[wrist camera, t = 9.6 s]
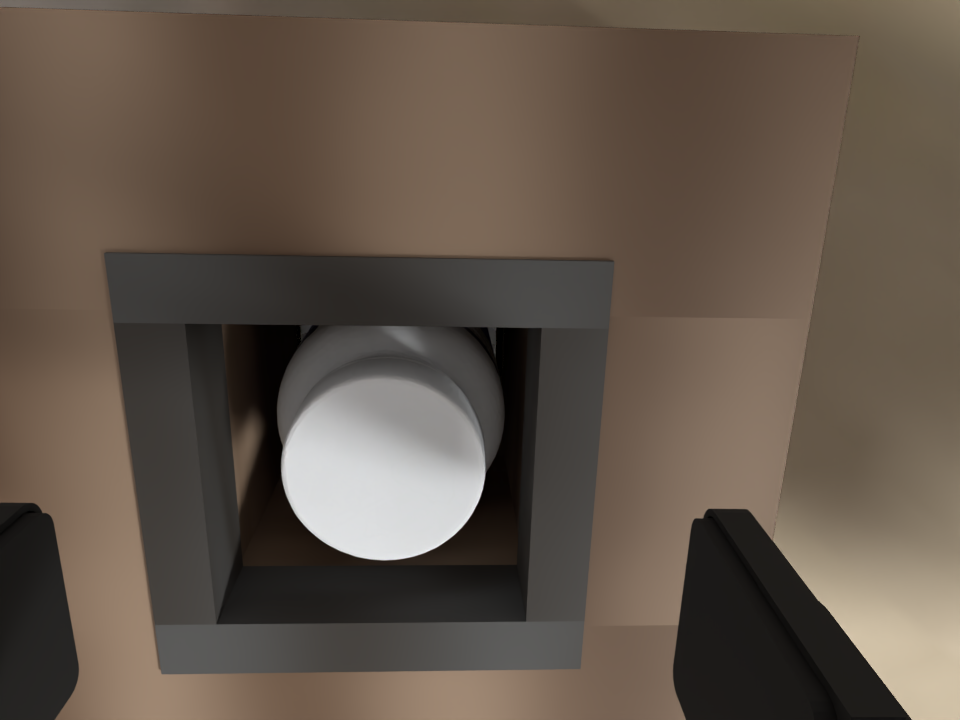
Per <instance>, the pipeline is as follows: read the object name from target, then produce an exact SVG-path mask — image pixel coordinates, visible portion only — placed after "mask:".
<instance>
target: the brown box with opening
mask: <svg viewBox="0 0 960 720" xmlns="http://www.w3.org/2000/svg"><path fill="white" fill-rule="evenodd" d="M859 37H860V36H845V35H815V34H786V33H756V32H726V31H697V30H667V29H637V28H608V27H578V26H548V25H519V24H489V23H459V22H430V21H400V20H370V19H341V18H311V17H282V16H252V15H222V14H193V13H163V12H133V11H104V10H74V9H44V8H15V7H0V503H35V504H37V505H38V506H39V507H40V509H41V510H42V513H47V514H49V515H50V516H51V517H52V519H53V522H54V527H55V533H56V538H57V544H58V550H59V555H60V561H61V567H62V572H63V578H64V584H65V589H66V595H67V601H68V606H69V612H70V618H71V623H72V629H73V635H74V640H75V646H76V652H77V657H78V663H79V676H78V681H77V684H76V687H75V690H74V692H73V693H72V695H71V697H70V698H69V700H68V701H67V703H66V704H65V705H64V707H63V708H62V710H61V711H60V713H59V714H58V716H57V717H56V719H55V720H686V718H685V716H684V713H683V711H682V708H681V705H680V703H679V700H678V698H677V695H676V692H675V687H674V681H673V663H674V655H675V647H676V640H677V632H678V624H679V616H680V609H681V601H682V593H683V586H684V578H685V570H686V563H687V555H688V547H689V540H690V532H691V526H692V522H693V520H694V519H695V518H703V517H704V514H705V512H706V511H707V510H708V509H748V510H749V511H750V512H751V513H752V515H753V516H754V517H755V518H756V520H757V521H758V522H759V524H760V525H761V526H762V528H763V529H764V530H765V532H766V533H767V534H768V536H769V537H770V538H771V540H772V541H773V536H774V530H775V524H776V518H777V512H778V507H779V501H780V495H781V489H782V483H783V478H784V472H785V466H786V460H787V454H788V449H789V443H790V437H791V431H792V425H793V420H794V414H795V408H796V402H797V396H798V391H799V385H800V379H801V373H802V367H803V362H804V356H805V350H806V344H807V338H808V333H809V327H810V321H811V315H812V309H813V304H814V298H815V292H816V286H817V280H818V275H819V269H820V263H821V257H822V251H823V246H824V240H825V234H826V228H827V222H828V217H829V211H830V205H831V199H832V193H833V187H834V182H835V176H836V170H837V164H838V158H839V153H840V147H841V141H842V135H843V129H844V124H845V118H846V112H847V106H848V100H849V95H850V89H851V83H852V77H853V71H854V66H855V60H856V54H857V48H858V42H859ZM296 325H337V326H421V327H504V337H503V365H502V389H503V396H504V407H505V419H504V429H503V434H502V439H501V442H500V445H499V448H498V451H497V454H496V456H495V458H494V460H493V462H492V464H491V466H490V467H489V469H488V470H487V472H486V473H485V480H484V485H483V490H482V493H481V497H480V499H479V502H478V504H477V506H476V508H475V510H474V511H473V513H472V515H471V516H470V518H469V519H468V521H467V522H466V523H465V524H464V526H463V527H462V528H461V529H460V530H459V531H458V532H457V533H456V534H455V535H454V536H452V537H451V538H450V539H448V540H447V541H446V542H444V543H443V544H441V545H440V546H438V547H436V548H434V549H432V550H430V551H428V552H426V553H423V554H420V555H417V556H414V557H409V558H404V559H397V560H373V559H366V558H360V557H356V556H353V555H350V554H347V553H344V552H341V551H339V550H337V549H335V548H333V547H331V546H329V545H327V544H326V543H324V542H323V541H321V540H320V539H319V538H317V537H316V536H315V535H314V534H312V533H311V532H310V531H309V530H308V529H307V528H306V527H305V526H304V524H303V523H302V522H301V521H300V520H299V518H298V517H297V516H296V514H295V513H294V511H293V509H292V507H291V505H290V503H289V501H288V499H287V496H286V494H285V490H284V486H283V483H282V476H281V456H282V450H283V445H282V442H281V438H280V435H279V430H278V424H277V402H278V394H279V389H280V385H281V382H282V379H283V376H284V373H285V370H286V368H287V365H288V364H289V362H290V360H291V358H292V356H293V354H294V352H295V351H296V349H297V336H296Z"/></svg>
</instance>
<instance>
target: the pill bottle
mask: <svg viewBox="0 0 960 720" xmlns="http://www.w3.org/2000/svg"><path fill="white" fill-rule="evenodd" d="M504 419H505V407H504V396H503V389H502V384H501V379H500V375H499V371H498V367H497V363H496V359H495V355H494V351H493V347H492V343H491V340H490V336H489V332H488V328H487V327H421V326H337V325H312V326H311V327H310V329H309V331H308V332H307V334H306V335H305V337H304V338H303V340H302V342H301V343H300V345H299V346H298V348H297V349H296V351H295V352H294V354H293V356H292V358H291V360H290V362H289V364H288V365H287V368H286V370H285V373H284V376H283V379H282V382H281V385H280V389H279V394H278V402H277V424H278V430H279V435H280V438H281V442H282V445H283V450H282V456H281V476H282V483H283V486H284V490H285V494H286V496H287V499H288V501H289V503H290V505H291V507H292V509H293V511H294V513H295V514H296V516H297V517H298V518H299V520H300V521H301V522H302V523H303V524H304V526H305V527H306V528H307V529H308V530H309V531H310V532H311V533H312V534H314V535H315V536H316V537H317V538H319V539H320V540H321V541H323V542H324V543H326V544H327V545H329V546H331V547H333V548H335V549H337V550H339V551H341V552H344V553H347V554H350V555H353V556H356V557H360V558H366V559H373V560H397V559H404V558H409V557H414V556H417V555H420V554H423V553H426V552H428V551H430V550H432V549H434V548H436V547H438V546H440V545H441V544H443V543H444V542H446V541H447V540H448V539H450V538H451V537H452V536H454V535H455V534H456V533H457V532H458V531H459V530H460V529H461V528H462V527H463V526H464V524H465V523H466V522H467V521H468V519H469V518H470V516H471V515H472V513H473V511H474V510H475V508H476V506H477V504H478V502H479V499H480V497H481V493H482V490H483V485H484V480H485V473H486V472H487V470H488V469H489V467H490V466H491V464H492V462H493V460H494V458H495V456H496V454H497V451H498V448H499V445H500V442H501V439H502V434H503V429H504Z"/></svg>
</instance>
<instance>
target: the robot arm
mask: <svg viewBox="0 0 960 720" xmlns="http://www.w3.org/2000/svg"><path fill="white" fill-rule="evenodd" d="M78 676H79V663H78V657H77V652H76V646H75V640H74V635H73V629H72V623H71V618H70V612H69V606H68V601H67V595H66V589H65V584H64V578H63V572H62V567H61V561H60V555H59V550H58V544H57V538H56V533H55V527H54V522H53V519H52V517H51V516H50V515H49V514H47V513H42V510H41V509H40V507H39V506H38V505H37V504H35V503H0V720H55V719H56V717H57V716H58V714H59V713H60V711H61V710H62V708H63V707H64V705H65V704H66V703H67V701H68V700H69V698H70V697H71V695H72V693H73V692H74V690H75V687H76V684H77V681H78ZM673 681H674V687H675V692H676V695H677V698H678V700H679V703H680V705H681V708H682V711H683V713H684V716H685V718H686V720H912V719H911V718H910V717H909V715H908V714H907V713H906V712H905V710H904V709H903V708H902V706H901V705H900V704H899V702H898V701H897V700H896V699H895V697H894V696H893V695H892V693H891V692H890V691H889V689H888V688H887V687H886V685H885V684H884V683H883V682H882V680H881V679H880V678H879V676H878V675H877V674H876V672H875V671H874V670H873V668H872V667H871V666H870V665H869V663H868V662H867V661H866V659H865V658H864V657H863V655H862V654H861V653H860V651H859V650H858V649H857V648H856V646H855V645H854V644H853V642H852V641H851V640H850V638H849V637H848V636H847V634H846V633H845V632H844V631H843V629H842V628H841V627H840V625H839V624H838V623H837V621H836V620H835V619H834V617H833V616H832V615H831V614H830V612H829V611H828V610H827V608H826V607H825V606H824V605H823V604H821V603H820V602H819V601H818V600H817V599H816V597H815V596H814V595H813V594H812V592H811V591H810V590H809V588H808V587H807V586H806V584H805V583H804V582H803V580H802V579H801V578H800V576H799V575H798V574H797V572H796V571H795V570H794V569H793V567H792V566H791V565H790V563H789V562H788V561H787V559H786V558H785V557H784V555H783V554H782V553H781V551H780V550H779V549H778V547H777V546H776V545H775V544H774V542H773V541H772V540H771V538H770V537H769V536H768V534H767V533H766V532H765V530H764V529H763V528H762V526H761V525H760V524H759V522H758V521H757V520H756V518H755V517H754V516H753V515H752V513H751V512H750V511H749V510H748V509H708V510H707V511H706V512H705V514H704V517H703V518H695V519H694V520H693V522H692V526H691V532H690V540H689V547H688V555H687V563H686V570H685V578H684V586H683V593H682V601H681V609H680V616H679V624H678V632H677V640H676V647H675V655H674V663H673Z"/></svg>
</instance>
